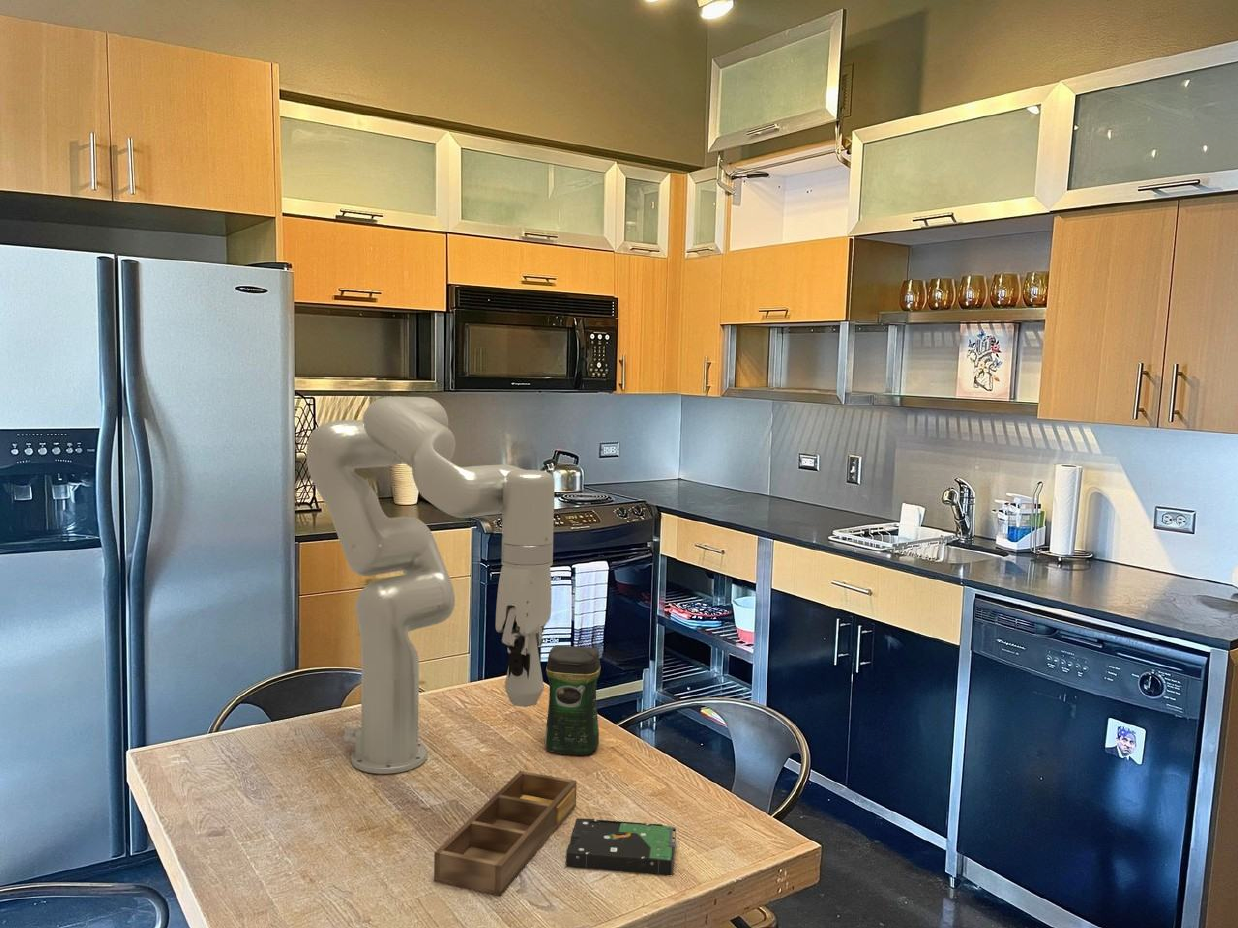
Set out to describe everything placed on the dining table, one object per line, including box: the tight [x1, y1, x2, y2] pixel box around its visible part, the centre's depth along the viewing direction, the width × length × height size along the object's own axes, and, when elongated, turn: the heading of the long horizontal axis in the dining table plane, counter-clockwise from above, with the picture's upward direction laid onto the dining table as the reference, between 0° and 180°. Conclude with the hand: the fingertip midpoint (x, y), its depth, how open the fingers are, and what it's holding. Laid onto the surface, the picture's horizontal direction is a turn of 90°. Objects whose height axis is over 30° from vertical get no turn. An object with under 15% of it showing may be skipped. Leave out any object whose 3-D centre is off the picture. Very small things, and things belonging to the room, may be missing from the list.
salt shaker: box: [504, 624, 545, 708], centre depth 138 cm, size 6×6×13 cm
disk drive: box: [565, 817, 677, 876], centre depth 131 cm, size 10×3×15 cm
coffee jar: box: [544, 644, 601, 756], centre depth 166 cm, size 10×8×19 cm
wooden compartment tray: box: [433, 770, 578, 897], centre depth 133 cm, size 10×27×4 cm, turn 162°
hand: (524, 674), depth 138 cm, fingers closed on salt shaker, 3 cm apart
